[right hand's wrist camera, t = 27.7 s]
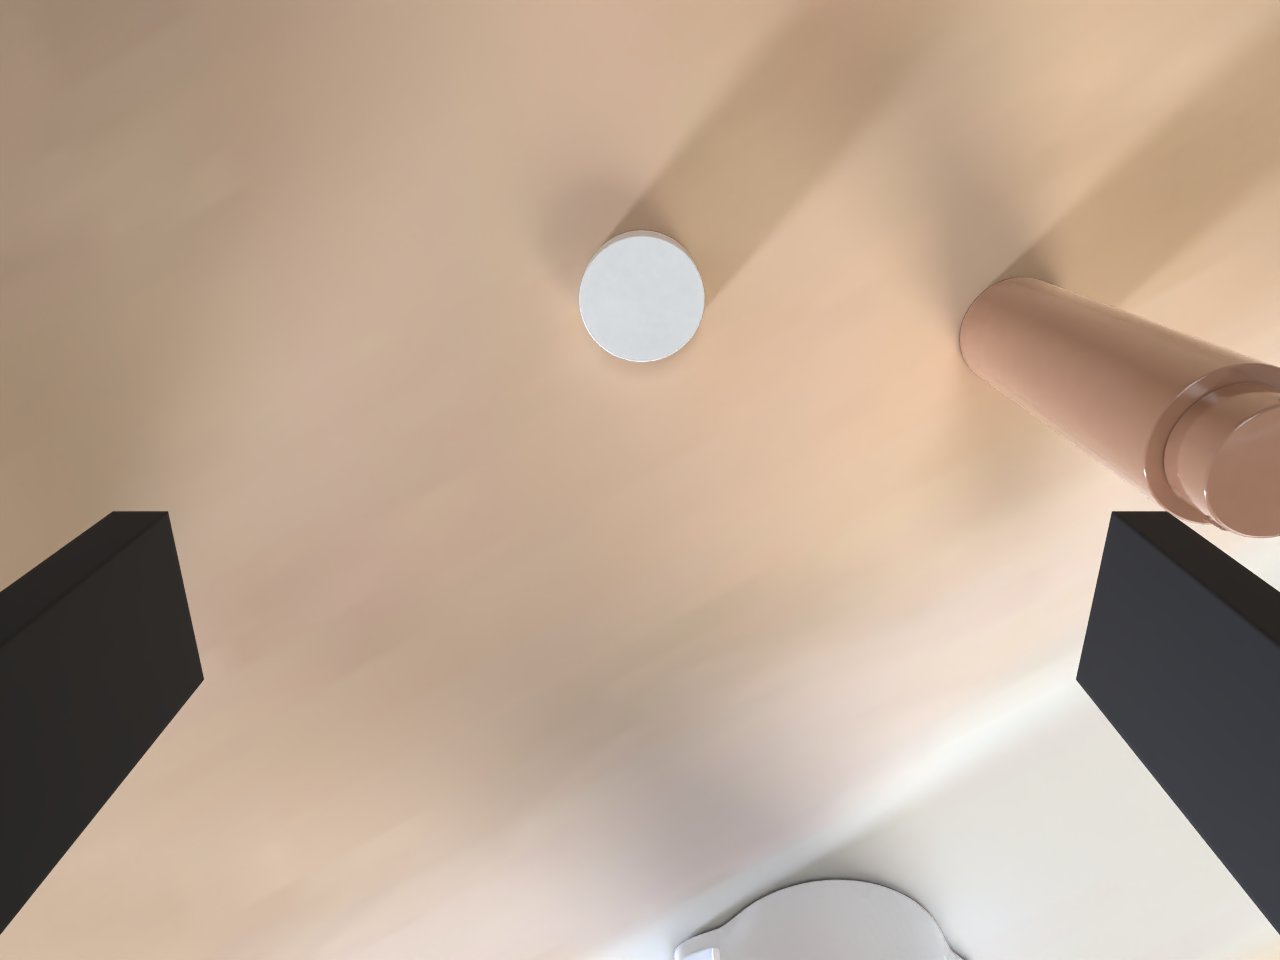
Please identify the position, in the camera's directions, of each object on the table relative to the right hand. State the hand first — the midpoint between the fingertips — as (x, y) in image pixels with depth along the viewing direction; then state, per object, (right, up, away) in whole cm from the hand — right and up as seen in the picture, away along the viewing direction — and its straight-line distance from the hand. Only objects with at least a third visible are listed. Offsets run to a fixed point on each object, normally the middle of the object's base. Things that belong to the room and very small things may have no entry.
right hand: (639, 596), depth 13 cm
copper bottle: (+17, +8, +27) cm, 33 cm away
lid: (0, +9, +24) cm, 26 cm away
